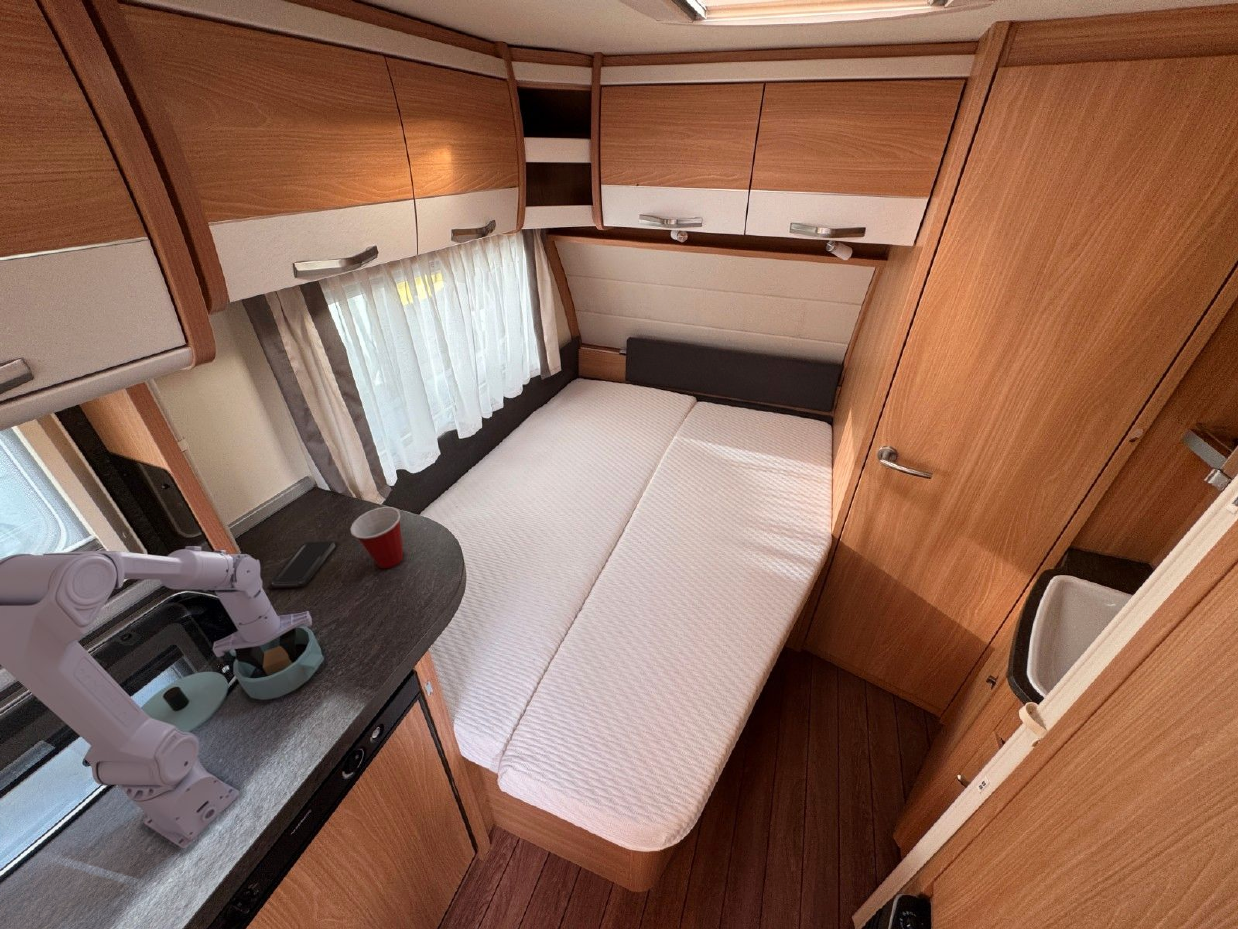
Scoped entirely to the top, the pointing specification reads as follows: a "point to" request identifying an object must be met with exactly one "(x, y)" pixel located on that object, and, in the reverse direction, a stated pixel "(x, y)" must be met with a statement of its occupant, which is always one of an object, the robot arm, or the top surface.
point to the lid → (188, 700)
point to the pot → (285, 678)
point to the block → (275, 660)
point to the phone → (303, 564)
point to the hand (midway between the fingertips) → (281, 664)
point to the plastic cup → (380, 535)
